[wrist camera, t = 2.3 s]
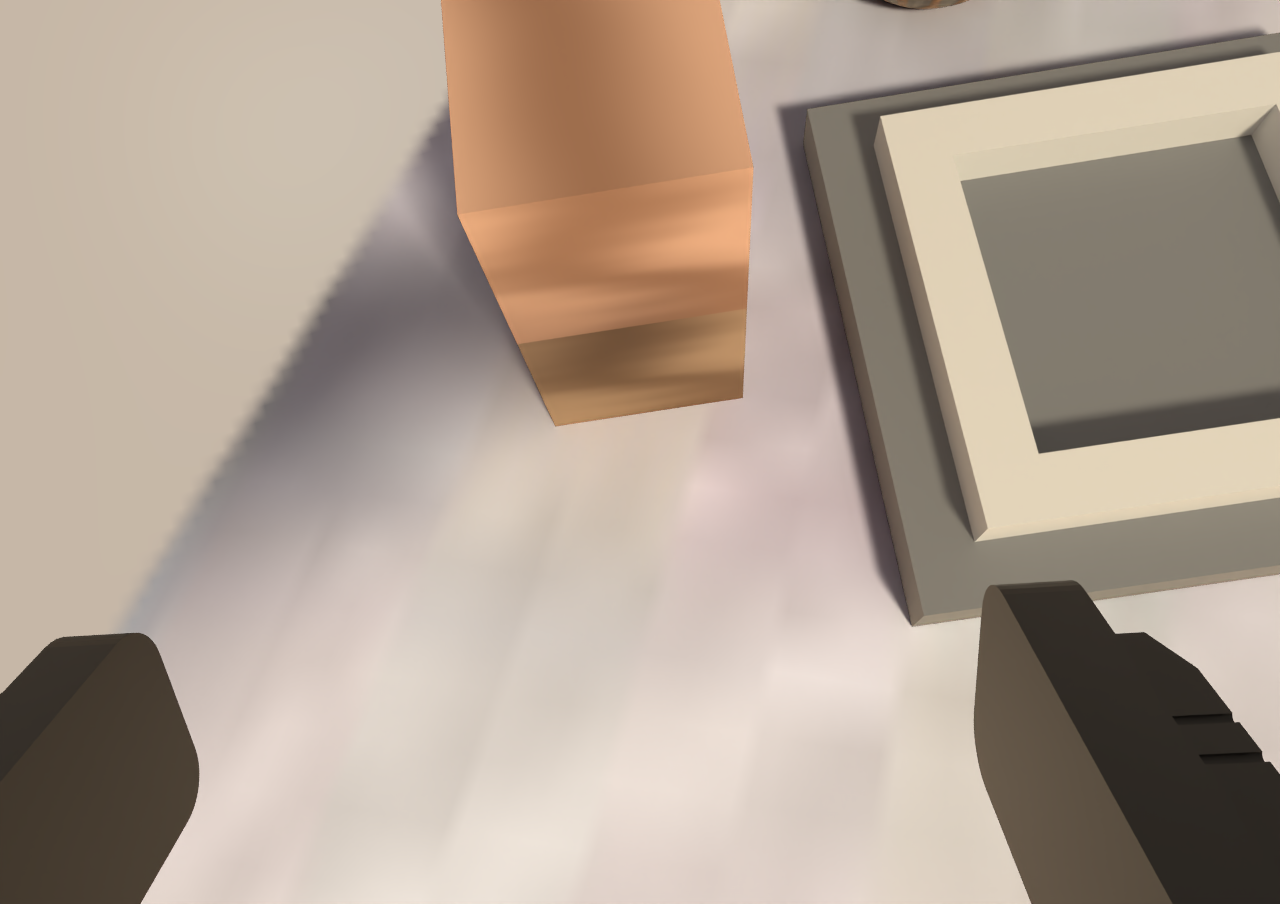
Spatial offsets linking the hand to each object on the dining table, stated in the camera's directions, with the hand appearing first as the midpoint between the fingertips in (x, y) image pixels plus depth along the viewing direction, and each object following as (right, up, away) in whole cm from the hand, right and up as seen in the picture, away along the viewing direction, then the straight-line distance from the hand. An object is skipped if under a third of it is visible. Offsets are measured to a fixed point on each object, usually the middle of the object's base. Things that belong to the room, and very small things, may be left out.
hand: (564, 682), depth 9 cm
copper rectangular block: (+1, +6, +17) cm, 18 cm away
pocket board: (+13, +6, +16) cm, 21 cm away
